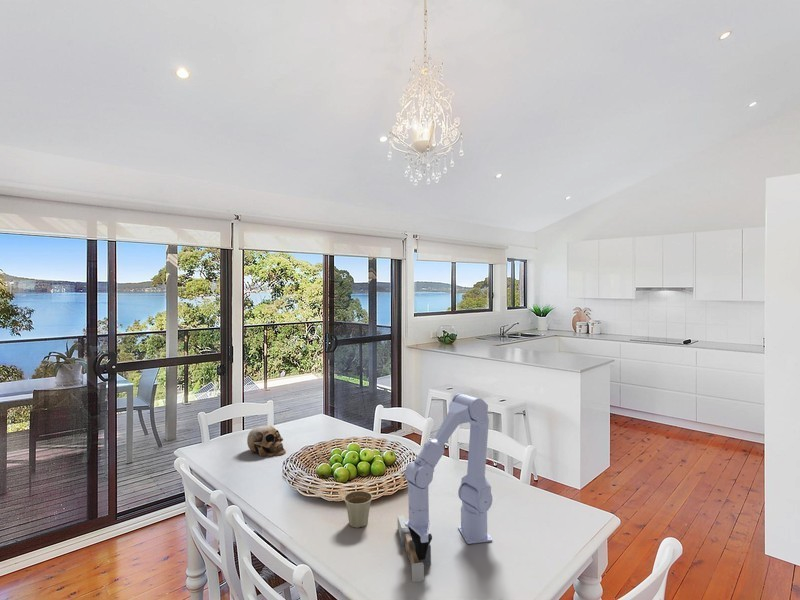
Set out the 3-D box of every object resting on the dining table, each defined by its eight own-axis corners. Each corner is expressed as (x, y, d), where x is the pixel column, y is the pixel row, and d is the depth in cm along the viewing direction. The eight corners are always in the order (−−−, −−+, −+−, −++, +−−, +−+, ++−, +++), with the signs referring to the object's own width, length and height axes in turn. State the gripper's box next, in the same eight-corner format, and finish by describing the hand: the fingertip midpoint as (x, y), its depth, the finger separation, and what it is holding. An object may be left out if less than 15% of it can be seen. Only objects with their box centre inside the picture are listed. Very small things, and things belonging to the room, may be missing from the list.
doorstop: (411, 555, 124) (411, 538, 124) (427, 553, 125) (426, 536, 125) (415, 565, 120) (414, 547, 119) (430, 563, 120) (430, 545, 120)
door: (405, 547, 128) (405, 534, 128) (412, 546, 128) (412, 533, 128) (414, 576, 114) (414, 562, 114) (422, 575, 115) (422, 561, 115)
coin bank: (286, 454, 203) (282, 426, 203) (247, 463, 198) (243, 434, 198) (285, 444, 218) (282, 418, 218) (249, 452, 213) (246, 425, 213)
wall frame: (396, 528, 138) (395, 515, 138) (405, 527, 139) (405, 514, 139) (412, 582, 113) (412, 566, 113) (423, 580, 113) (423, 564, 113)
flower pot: (373, 515, 147) (373, 490, 147) (372, 530, 137) (372, 503, 137) (345, 516, 147) (345, 490, 146) (343, 531, 137) (342, 504, 137)
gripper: (400, 495, 128) (400, 540, 128) (409, 520, 114) (410, 571, 114) (423, 493, 130) (423, 537, 130) (435, 517, 115) (436, 568, 115)
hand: (419, 553), depth 122 cm, fingers closed on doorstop, 4 cm apart
